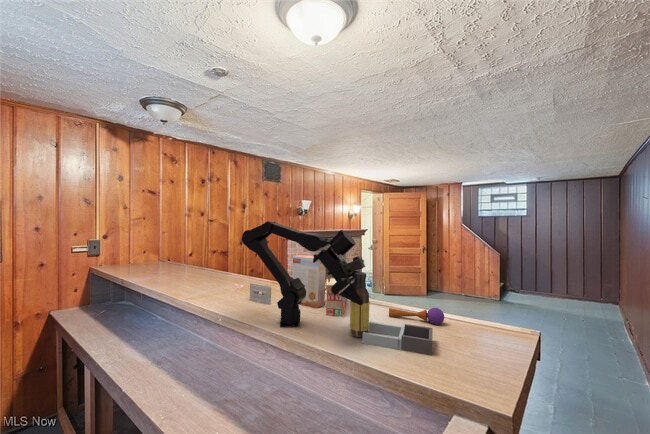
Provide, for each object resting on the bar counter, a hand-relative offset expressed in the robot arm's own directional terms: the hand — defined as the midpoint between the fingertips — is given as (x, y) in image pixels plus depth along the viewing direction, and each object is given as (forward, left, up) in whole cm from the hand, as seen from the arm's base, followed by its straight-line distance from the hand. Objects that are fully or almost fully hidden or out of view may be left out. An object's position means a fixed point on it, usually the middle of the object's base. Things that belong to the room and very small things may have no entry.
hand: (364, 301), depth 96 cm
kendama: (+24, +14, -12) cm, 30 cm away
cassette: (-37, +39, -11) cm, 55 cm away
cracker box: (-16, +36, -11) cm, 41 cm away
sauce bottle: (-1, +1, -11) cm, 11 cm away
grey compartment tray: (+10, -5, -11) cm, 16 cm away
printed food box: (-4, +30, -11) cm, 32 cm away
